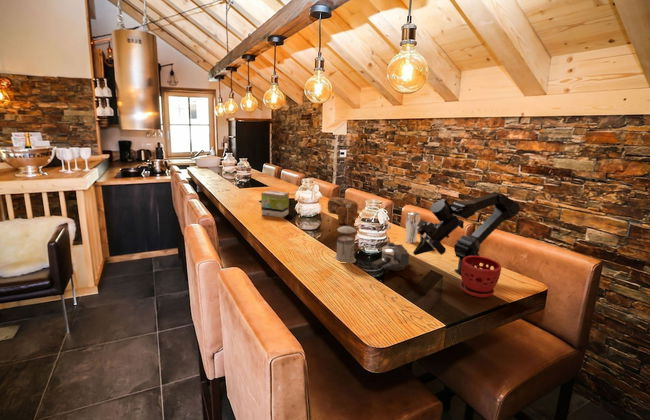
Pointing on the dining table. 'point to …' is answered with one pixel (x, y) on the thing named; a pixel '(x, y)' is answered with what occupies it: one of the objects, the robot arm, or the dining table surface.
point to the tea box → (275, 203)
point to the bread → (338, 204)
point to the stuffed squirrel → (351, 214)
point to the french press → (345, 244)
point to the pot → (387, 263)
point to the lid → (397, 253)
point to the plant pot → (479, 276)
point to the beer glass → (412, 227)
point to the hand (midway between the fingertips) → (414, 254)
